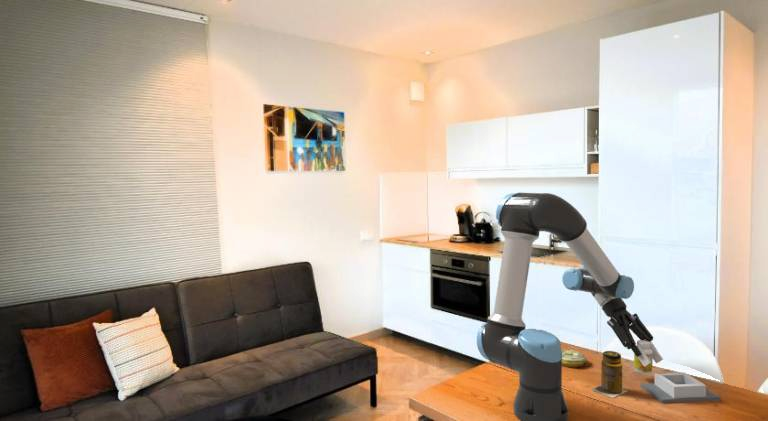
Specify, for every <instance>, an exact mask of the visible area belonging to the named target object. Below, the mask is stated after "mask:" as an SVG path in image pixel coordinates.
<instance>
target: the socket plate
mask: <svg viewBox="0 0 768 421" xmlns="http://www.w3.org/2000/svg"><path fill="white" fill-rule="evenodd" d="M640 388H641V389H643V390H644V391H645V392H646V393H648V394H650V396H652V397H654V398H655V400H658V401H659V402H660V403H661V404H667V403H688V402H689V403H693V402H694V403H695V402H713V401H714V402H715V401H717V402H718V401H721V400H722V399H721V398H722V397H721V396H719V395H718V394H716V393H715V392H713V391H712V390H710V389H708V388H707V385H706V384H704V383H703V382H701V381H699V380H698V379H696V378H695V377H693V376H691V375H689V374H687V373H686V372H683V371H682V372H664V373H663V372H662V373H661V372H660V373H654V383H640Z"/></svg>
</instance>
